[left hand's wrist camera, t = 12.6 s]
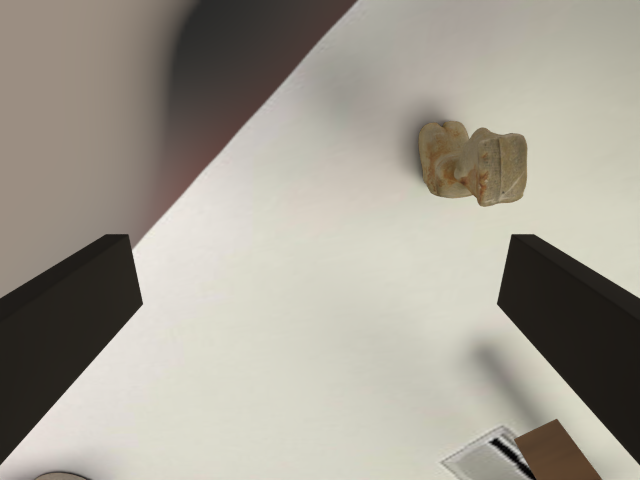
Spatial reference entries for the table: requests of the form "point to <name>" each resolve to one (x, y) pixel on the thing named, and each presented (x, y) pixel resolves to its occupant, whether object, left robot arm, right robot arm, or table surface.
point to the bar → (554, 454)
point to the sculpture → (473, 163)
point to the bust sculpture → (59, 477)
